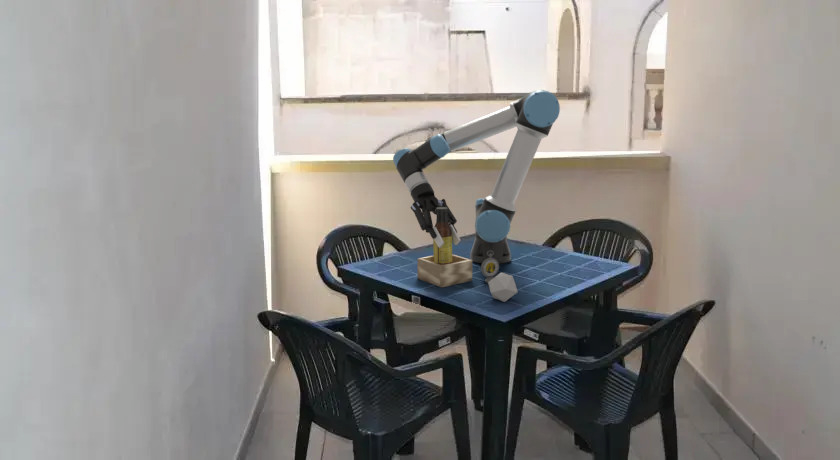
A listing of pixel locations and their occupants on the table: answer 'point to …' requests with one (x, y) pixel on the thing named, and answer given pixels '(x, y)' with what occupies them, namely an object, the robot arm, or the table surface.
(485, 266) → the pocket watch
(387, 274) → the table surface
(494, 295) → the die
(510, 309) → the table surface
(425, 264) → the crate
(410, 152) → the robot arm
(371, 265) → the table surface
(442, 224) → the sauce bottle
